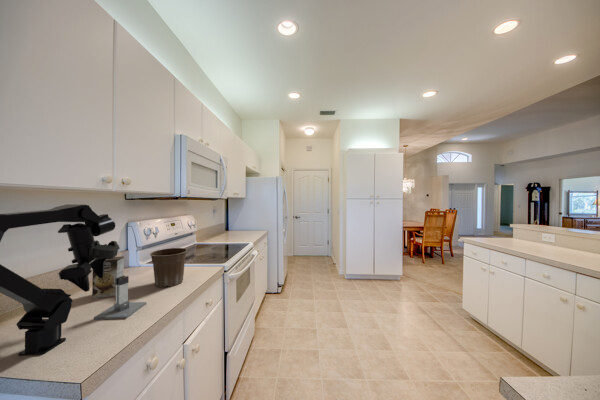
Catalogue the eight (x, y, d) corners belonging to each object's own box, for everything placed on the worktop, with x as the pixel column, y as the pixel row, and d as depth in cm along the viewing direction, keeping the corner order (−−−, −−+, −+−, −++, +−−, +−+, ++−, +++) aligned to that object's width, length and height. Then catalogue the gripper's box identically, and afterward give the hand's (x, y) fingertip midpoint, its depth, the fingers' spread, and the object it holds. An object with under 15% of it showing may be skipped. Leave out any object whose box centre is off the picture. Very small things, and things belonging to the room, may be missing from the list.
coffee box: (91, 298, 93) (91, 260, 93) (100, 292, 99) (100, 256, 100) (116, 296, 96) (116, 259, 96) (124, 290, 102) (124, 255, 102)
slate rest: (126, 318, 78) (126, 316, 78) (93, 319, 77) (93, 317, 77) (146, 303, 89) (146, 301, 89) (117, 304, 88) (117, 302, 88)
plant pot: (168, 291, 101) (168, 256, 101) (141, 287, 105) (141, 254, 105) (194, 279, 117) (194, 248, 117) (169, 276, 121) (169, 247, 121)
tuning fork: (120, 311, 81) (120, 279, 81) (114, 310, 82) (114, 278, 82) (129, 307, 84) (129, 276, 84) (123, 306, 85) (123, 275, 85)
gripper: (98, 245, 67) (110, 292, 70) (122, 229, 84) (132, 266, 87) (50, 254, 63) (65, 302, 66) (86, 235, 80) (97, 273, 83)
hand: (94, 284), depth 76 cm, fingers open, 9 cm apart
